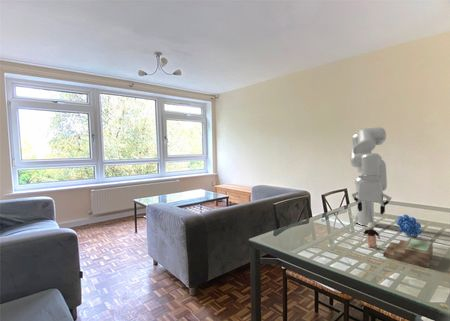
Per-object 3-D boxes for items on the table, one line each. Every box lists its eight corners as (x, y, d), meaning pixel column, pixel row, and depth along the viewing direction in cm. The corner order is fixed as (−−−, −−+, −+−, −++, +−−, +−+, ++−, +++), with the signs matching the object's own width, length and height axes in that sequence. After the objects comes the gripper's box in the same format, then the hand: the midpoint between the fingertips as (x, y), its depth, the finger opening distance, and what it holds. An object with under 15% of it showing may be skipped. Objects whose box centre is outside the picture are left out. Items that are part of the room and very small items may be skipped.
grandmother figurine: (379, 246, 121) (379, 222, 121) (380, 249, 118) (380, 224, 117) (362, 244, 125) (361, 220, 124) (363, 247, 121) (362, 223, 120)
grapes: (393, 235, 135) (393, 214, 135) (398, 232, 139) (397, 212, 139) (419, 241, 126) (419, 218, 125) (423, 237, 130) (423, 216, 130)
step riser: (383, 256, 111) (383, 243, 110) (391, 245, 122) (391, 233, 121) (428, 267, 99) (428, 253, 99) (432, 254, 110) (432, 241, 110)
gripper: (349, 178, 123) (349, 211, 124) (389, 180, 111) (389, 216, 111) (354, 176, 128) (354, 208, 129) (392, 178, 116) (393, 213, 116)
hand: (370, 212), depth 120 cm, fingers open, 9 cm apart
